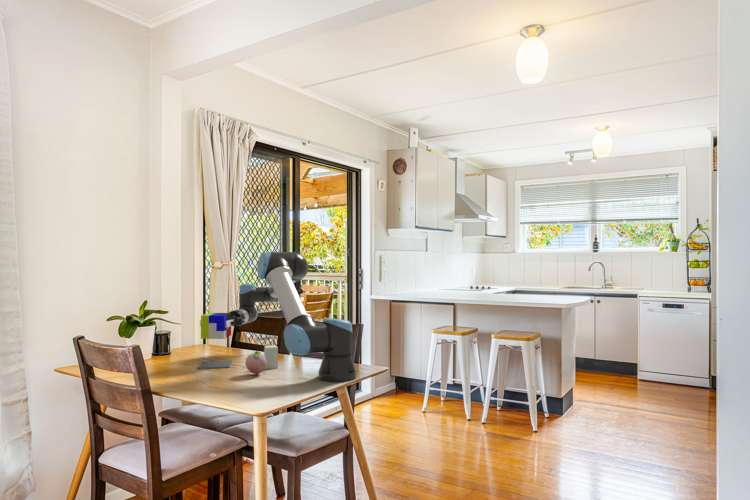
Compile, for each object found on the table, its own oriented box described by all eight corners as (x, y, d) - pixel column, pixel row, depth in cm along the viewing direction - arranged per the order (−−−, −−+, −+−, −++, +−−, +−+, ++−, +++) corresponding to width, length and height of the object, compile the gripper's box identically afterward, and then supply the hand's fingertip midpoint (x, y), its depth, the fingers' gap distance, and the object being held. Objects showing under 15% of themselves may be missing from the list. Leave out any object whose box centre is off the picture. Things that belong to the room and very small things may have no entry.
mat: (229, 367, 219) (229, 366, 219) (197, 369, 217) (197, 367, 217) (231, 361, 232) (231, 360, 232) (201, 362, 229) (201, 361, 229)
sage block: (277, 368, 219) (277, 347, 219) (266, 369, 217) (266, 348, 217) (275, 365, 223) (275, 345, 224) (264, 366, 222) (264, 346, 222)
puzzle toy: (223, 338, 219) (224, 315, 219) (200, 338, 219) (201, 315, 219) (231, 335, 229) (231, 313, 229) (209, 334, 229) (209, 312, 229)
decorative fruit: (244, 373, 210) (244, 348, 210) (265, 371, 212) (265, 347, 212) (246, 378, 201) (246, 352, 201) (267, 376, 203) (267, 351, 203)
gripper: (260, 326, 241) (238, 333, 219) (214, 324, 246) (188, 331, 225) (260, 310, 241) (238, 316, 219) (214, 309, 246) (189, 314, 225)
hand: (213, 323), depth 222 cm, fingers closed on puzzle toy, 11 cm apart
